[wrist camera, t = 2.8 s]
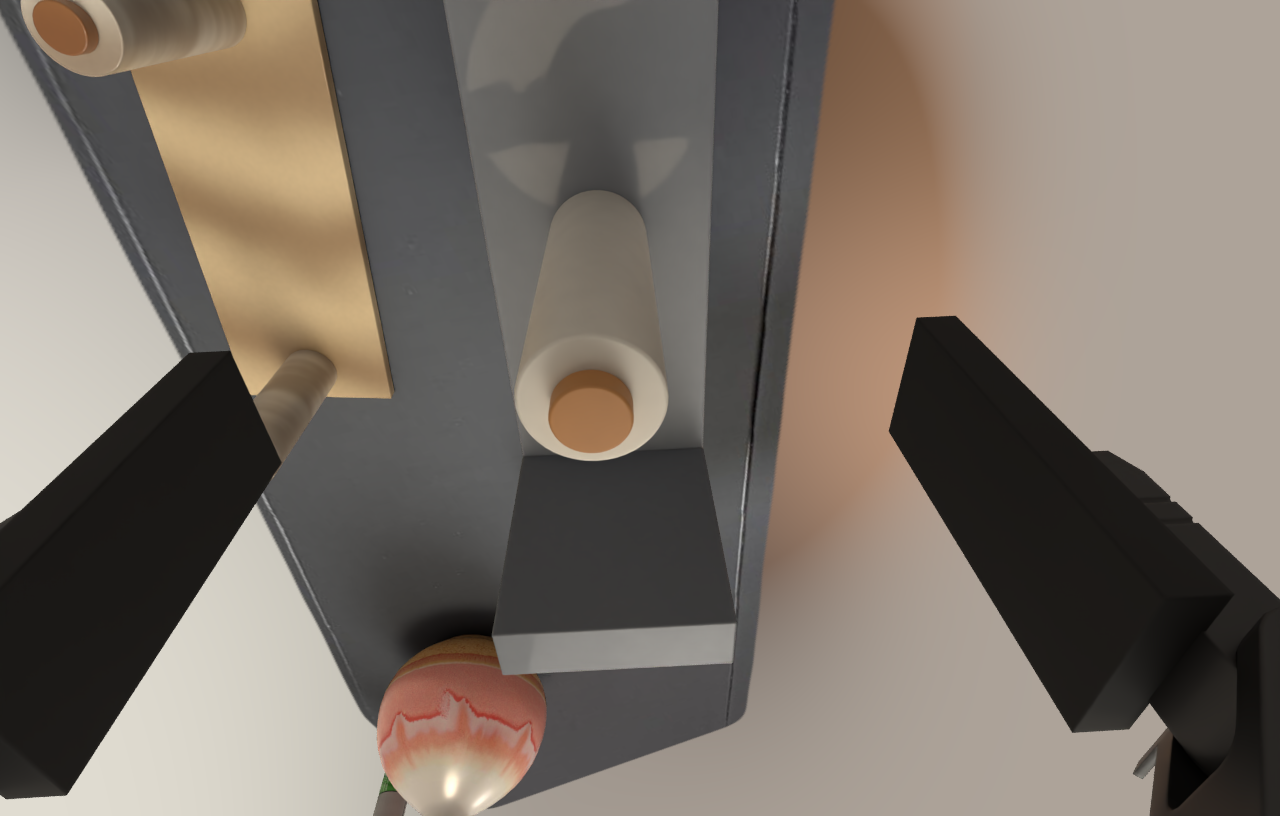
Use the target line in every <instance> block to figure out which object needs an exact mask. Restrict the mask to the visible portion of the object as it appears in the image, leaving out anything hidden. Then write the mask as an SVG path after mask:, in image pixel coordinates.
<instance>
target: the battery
mask: <svg viewBox="0 0 1280 816" xmlns="http://www.w3.org/2000/svg"><path fill="white" fill-rule="evenodd" d="M406 804H407V801H406V800H405V799H404V798H403V797H402V796H401V795H400V794H399V793H398V792H397V790H396V789H395V788H394V787H393V785H392V783H391V782H390V780H389V779H388V777H387V775H386V773H385V775H384V778H383V782H382V786H381V789H380V793H379V796H378V800H377V803H376V807H375V811H374V814H373V816H404V813H405V809H406Z"/></svg>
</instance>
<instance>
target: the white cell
mask: <svg viewBox="0 0 1280 816" xmlns="http://www.w3.org/2000/svg"><path fill="white" fill-rule="evenodd" d="M668 398H669V394H668V386H667V378H666V371H665V364H664V357H663V349H662V342H661V335H660V328H659V320H658V313H657V306H656V299H655V291H654V284H653V277H652V270H651V262H650V255H649V248H648V241H647V233H646V228H645V224H644V222H643V219H642V217H641V215H640V213H639V212H638V211H637V209H636V208H635V207H634V206H633V205H632V204H631V203H630V202H629V201H628V200H626V199H625V198H623V197H622V196H620V195H618V194H615V193H612V192H609V191H603V190H591V191H585V192H581V193H579V194H576V195H574V196H573V197H571V198H569V199H568V200H567V201H565V202H564V203H563V204H562V205H561V206H560V208H559V209H558V210H557V212H556V213H555V215H554V217H553V220H552V222H551V226H550V231H549V235H548V240H547V244H546V249H545V253H544V258H543V262H542V267H541V271H540V276H539V280H538V285H537V289H536V294H535V298H534V303H533V307H532V311H531V316H530V320H529V325H528V329H527V334H526V338H525V343H524V347H523V352H522V356H521V361H520V365H519V370H518V374H517V379H516V384H515V388H514V400H515V407H516V410H517V414H518V416H519V418H520V420H521V422H522V424H523V426H524V427H525V429H526V430H527V431H528V433H529V434H530V435H531V436H532V437H533V438H534V439H535V440H536V441H537V442H538V443H540V444H541V445H542V446H544V447H545V448H547V449H549V450H551V451H552V452H554V453H557V454H559V455H562V456H565V457H568V458H572V459H577V460H585V461H600V460H608V459H613V458H617V457H620V456H623V455H626V454H628V453H630V452H632V451H634V450H636V449H638V448H639V447H641V446H642V445H643V444H645V443H646V442H647V441H648V440H649V439H650V438H651V437H652V436H653V435H654V434H655V433H656V431H657V430H658V429H659V427H660V425H661V424H662V422H663V420H664V417H665V415H666V412H667V407H668Z"/></svg>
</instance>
